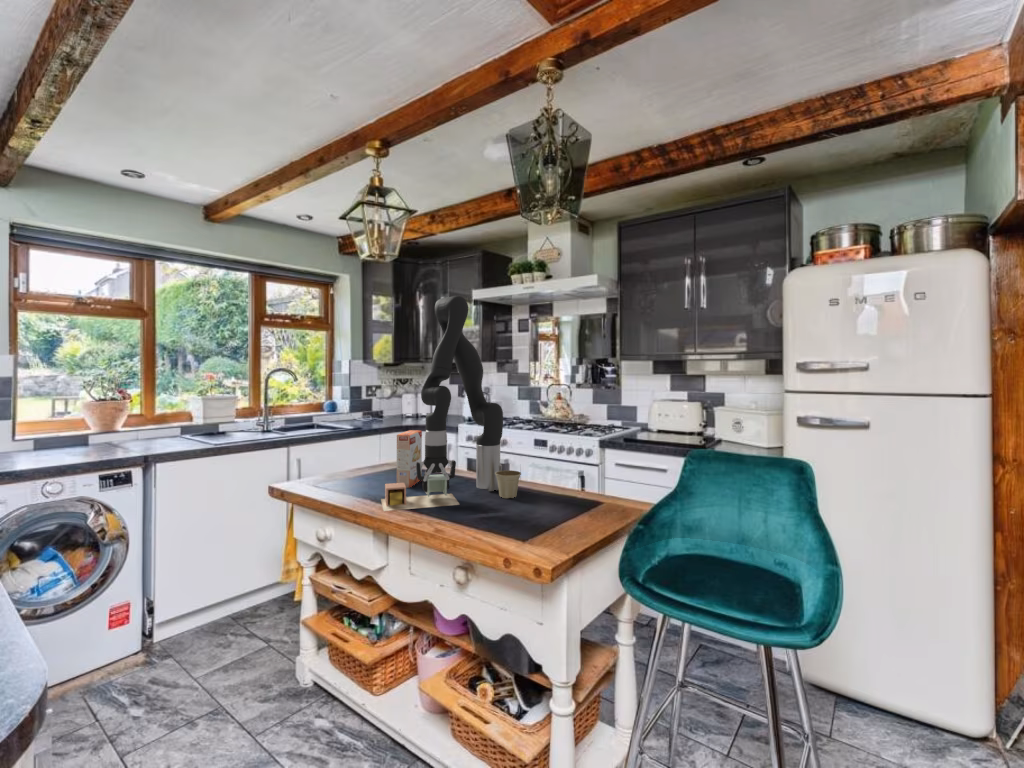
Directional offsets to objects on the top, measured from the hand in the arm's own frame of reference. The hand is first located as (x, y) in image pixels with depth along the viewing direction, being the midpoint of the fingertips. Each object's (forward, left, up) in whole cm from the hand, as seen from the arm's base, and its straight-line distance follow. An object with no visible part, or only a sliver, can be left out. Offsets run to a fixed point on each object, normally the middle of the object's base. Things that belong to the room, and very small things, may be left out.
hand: (435, 490), depth 179 cm
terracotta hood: (+14, 0, -3) cm, 14 cm away
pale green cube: (0, 0, -1) cm, 1 cm away
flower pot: (-26, 0, -4) cm, 27 cm away
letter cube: (+14, 0, -3) cm, 14 cm away
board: (+6, +1, -4) cm, 7 cm away
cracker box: (+6, -29, -4) cm, 30 cm away
